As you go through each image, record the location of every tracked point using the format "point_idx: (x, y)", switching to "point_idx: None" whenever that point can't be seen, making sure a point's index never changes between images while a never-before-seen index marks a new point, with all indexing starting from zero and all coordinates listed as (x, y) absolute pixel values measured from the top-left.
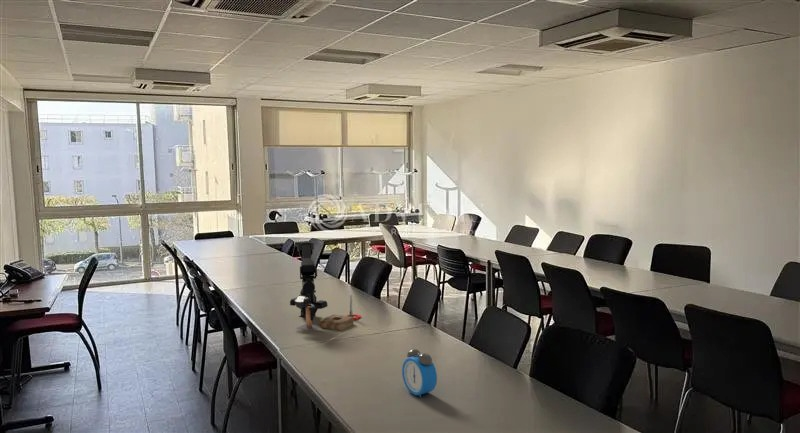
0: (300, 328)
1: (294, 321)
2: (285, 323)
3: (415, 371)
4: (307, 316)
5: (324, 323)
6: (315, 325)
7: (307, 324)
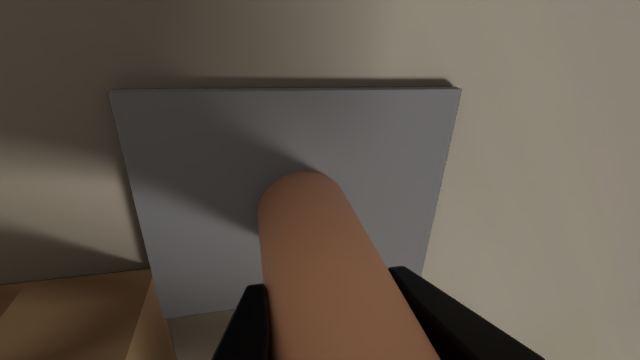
0: (390, 106)
1: (561, 295)
2: (633, 211)
3: None
4: (350, 323)
5: (15, 351)
6: None
7: (310, 200)
